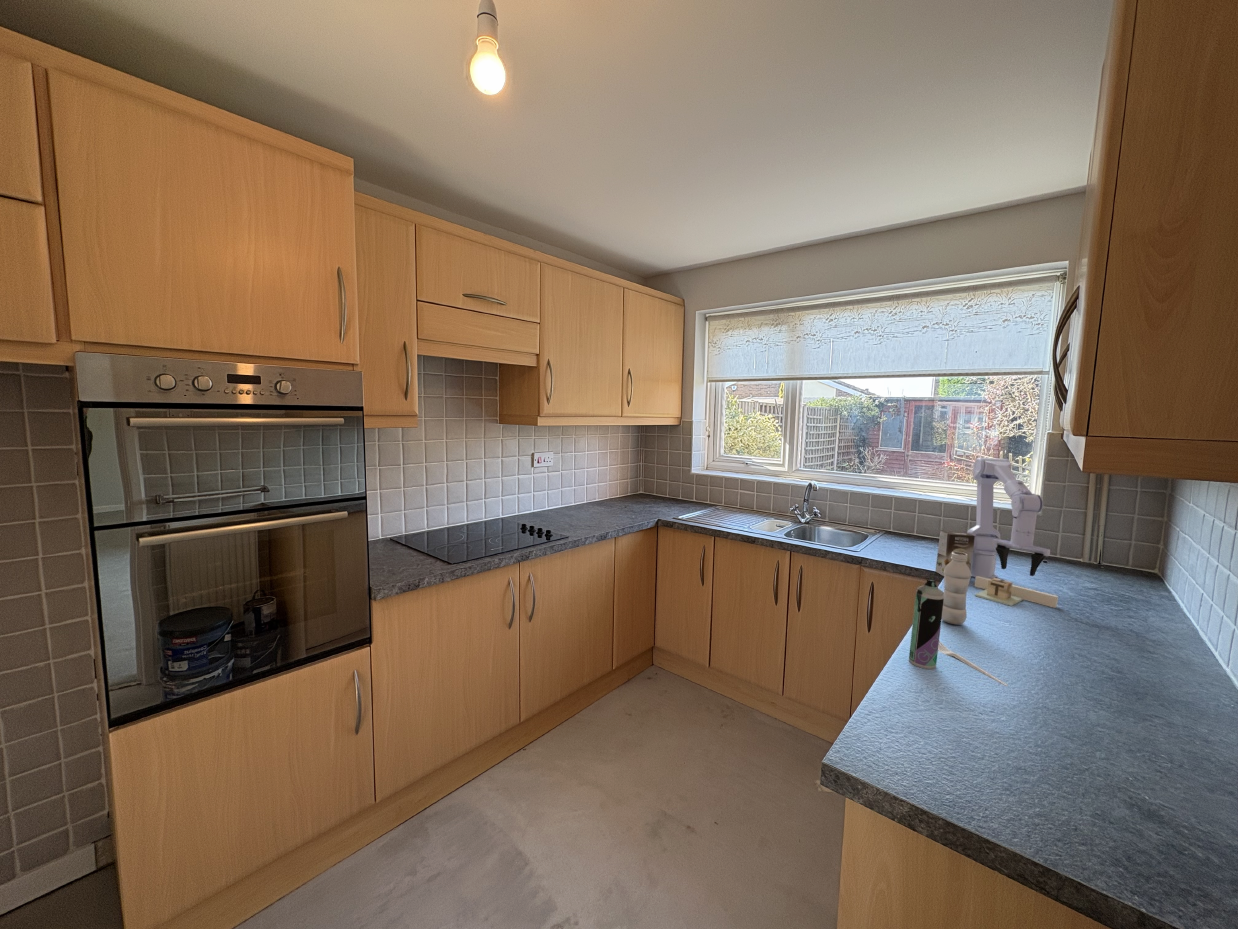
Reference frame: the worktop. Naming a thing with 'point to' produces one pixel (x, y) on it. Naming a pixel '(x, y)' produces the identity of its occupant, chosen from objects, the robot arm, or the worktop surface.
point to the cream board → (1023, 593)
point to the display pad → (1009, 601)
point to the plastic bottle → (956, 589)
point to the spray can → (926, 625)
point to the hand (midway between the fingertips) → (1017, 572)
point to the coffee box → (953, 548)
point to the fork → (965, 661)
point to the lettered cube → (999, 588)
